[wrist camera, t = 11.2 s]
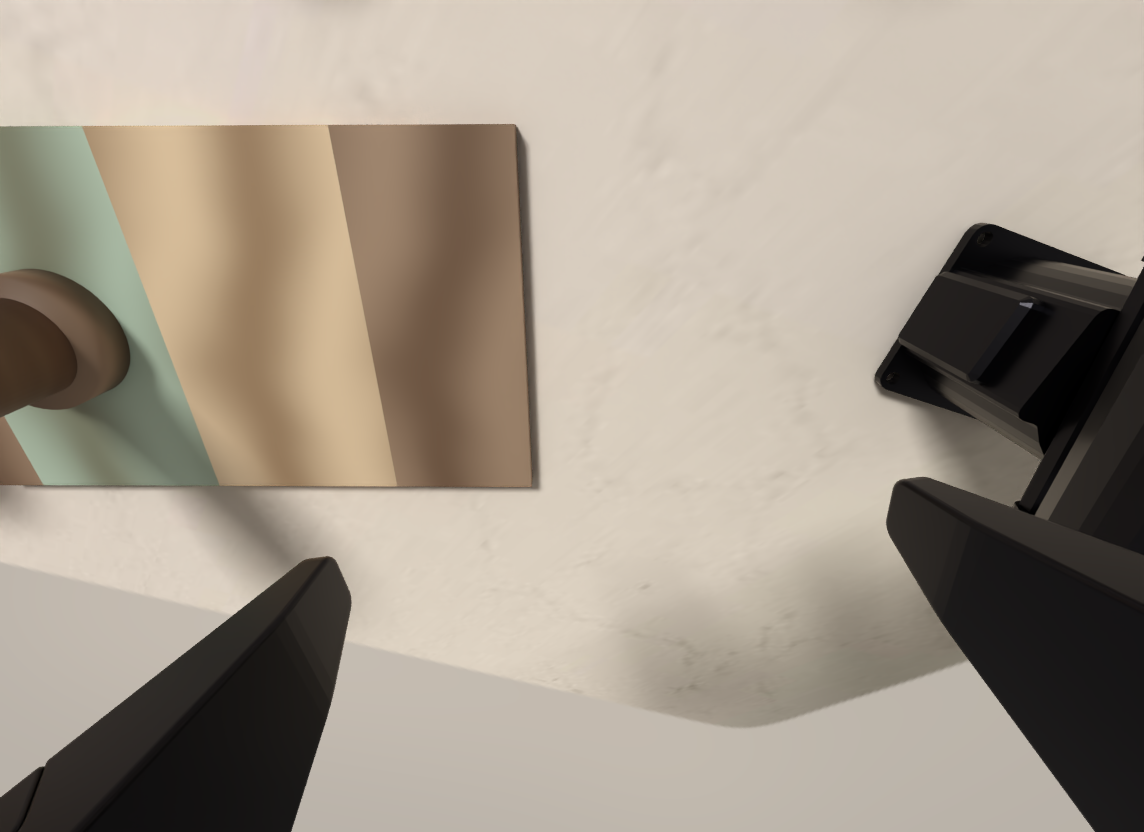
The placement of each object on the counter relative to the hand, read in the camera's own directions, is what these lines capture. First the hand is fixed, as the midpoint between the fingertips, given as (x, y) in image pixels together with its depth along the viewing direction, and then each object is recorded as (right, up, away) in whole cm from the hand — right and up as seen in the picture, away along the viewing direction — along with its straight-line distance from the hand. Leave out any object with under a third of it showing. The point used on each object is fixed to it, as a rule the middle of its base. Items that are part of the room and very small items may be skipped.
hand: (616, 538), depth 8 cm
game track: (-15, +5, +12) cm, 20 cm away
